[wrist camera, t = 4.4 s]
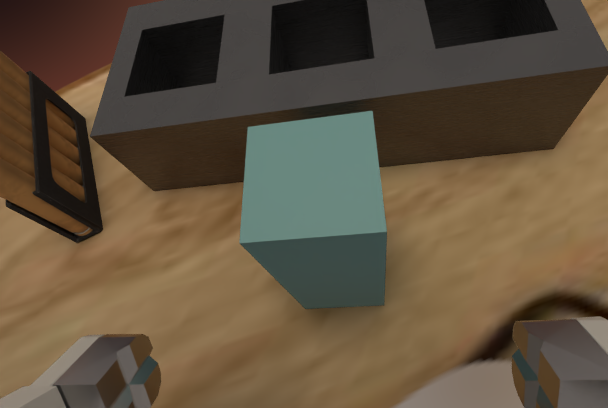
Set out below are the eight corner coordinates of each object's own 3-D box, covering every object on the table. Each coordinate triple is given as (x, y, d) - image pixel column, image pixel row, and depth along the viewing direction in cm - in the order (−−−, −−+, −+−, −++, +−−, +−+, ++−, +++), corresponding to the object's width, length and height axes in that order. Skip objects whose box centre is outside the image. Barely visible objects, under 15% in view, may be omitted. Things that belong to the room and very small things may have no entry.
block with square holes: (153, 190, 24) (89, 136, 19) (175, 77, 29) (129, 7, 23) (553, 148, 20) (614, 64, 15) (507, 24, 25) (541, -74, 19)
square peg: (305, 308, 19) (239, 243, 10) (304, 236, 21) (247, 126, 12) (384, 305, 18) (386, 231, 10) (376, 230, 20) (372, 110, 11)
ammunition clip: (103, 231, 24) (-123, 106, 13) (77, 244, 24) (-173, 128, 13) (85, 117, 29) (-89, -40, 18) (63, 127, 29) (-125, -25, 18)
